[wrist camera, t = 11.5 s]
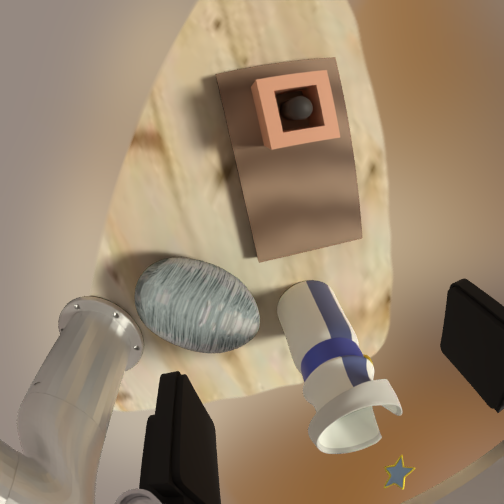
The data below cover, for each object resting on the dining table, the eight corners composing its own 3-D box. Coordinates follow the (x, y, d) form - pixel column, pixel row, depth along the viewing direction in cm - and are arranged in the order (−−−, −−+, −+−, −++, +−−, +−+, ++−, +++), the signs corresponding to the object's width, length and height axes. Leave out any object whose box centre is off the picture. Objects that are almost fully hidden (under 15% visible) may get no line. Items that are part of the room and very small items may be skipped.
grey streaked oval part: (117, 316, 33) (129, 346, 24) (145, 239, 34) (166, 242, 25) (216, 345, 39) (255, 375, 31) (241, 278, 41) (287, 291, 32)
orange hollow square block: (322, 135, 29) (340, 137, 24) (264, 146, 29) (271, 149, 24) (310, 78, 26) (326, 69, 22) (250, 87, 26) (256, 79, 22)
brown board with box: (357, 233, 35) (386, 260, 28) (257, 257, 35) (265, 290, 28) (330, 59, 27) (359, 44, 20) (216, 76, 27) (213, 61, 20)
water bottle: (349, 281, 37) (457, 445, 14) (325, 335, 40) (394, 499, 17) (288, 270, 36) (368, 467, 13) (268, 328, 39) (309, 516, 16)
